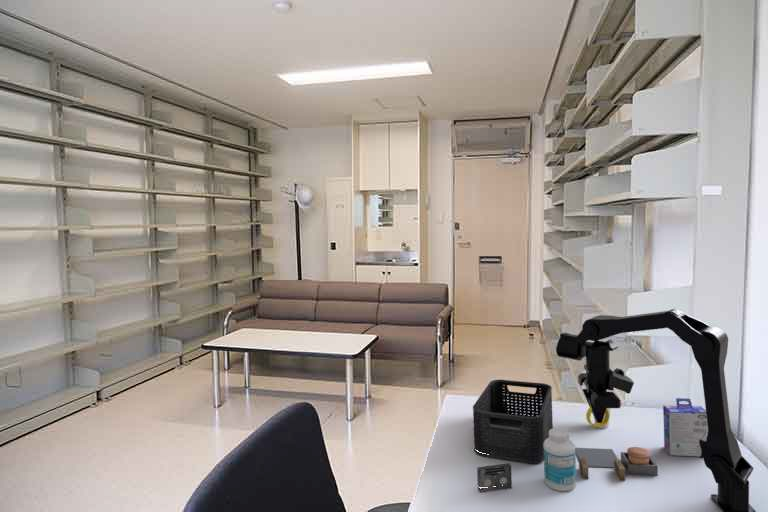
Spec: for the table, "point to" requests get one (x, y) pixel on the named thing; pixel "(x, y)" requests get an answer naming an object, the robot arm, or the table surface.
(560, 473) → the pill bottle
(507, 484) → the mini dv tape
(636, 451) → the tan domed cylinder
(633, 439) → the table surface
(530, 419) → the storage bin
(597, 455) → the slate mat
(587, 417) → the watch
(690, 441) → the ink cartridge box
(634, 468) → the grey square tray
